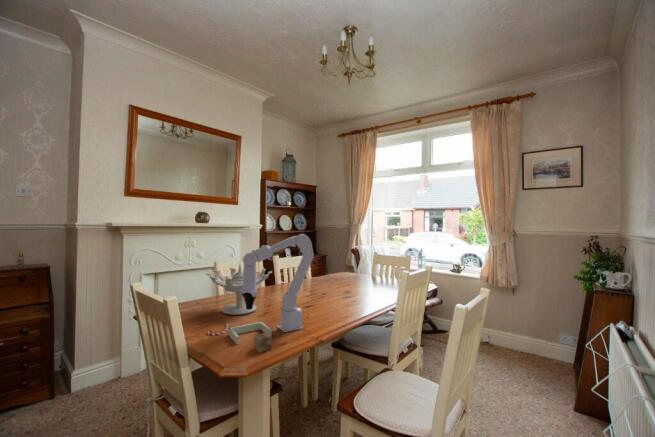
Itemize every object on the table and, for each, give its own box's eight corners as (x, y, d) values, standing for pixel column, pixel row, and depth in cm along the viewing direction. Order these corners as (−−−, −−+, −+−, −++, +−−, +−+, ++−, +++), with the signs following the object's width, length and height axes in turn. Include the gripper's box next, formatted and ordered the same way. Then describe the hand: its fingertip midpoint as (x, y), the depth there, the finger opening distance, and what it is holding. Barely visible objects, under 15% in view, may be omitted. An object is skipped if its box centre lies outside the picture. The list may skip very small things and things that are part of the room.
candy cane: (234, 322, 141) (222, 334, 126) (234, 324, 141) (222, 337, 126) (218, 321, 141) (204, 333, 126) (218, 324, 141) (204, 336, 126)
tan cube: (266, 345, 118) (266, 332, 118) (271, 349, 114) (271, 336, 114) (254, 347, 115) (254, 335, 115) (259, 352, 111) (259, 339, 111)
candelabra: (277, 316, 152) (278, 264, 152) (204, 324, 139) (205, 267, 139) (266, 299, 184) (266, 256, 184) (205, 305, 171) (206, 258, 171)
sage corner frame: (261, 328, 136) (261, 321, 136) (271, 336, 126) (271, 329, 126) (228, 334, 127) (228, 328, 127) (236, 344, 118) (236, 336, 118)
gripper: (236, 277, 137) (235, 306, 137) (246, 283, 125) (245, 314, 125) (250, 275, 141) (250, 304, 141) (262, 281, 129) (261, 312, 129)
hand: (249, 309), depth 134 cm, fingers closed
